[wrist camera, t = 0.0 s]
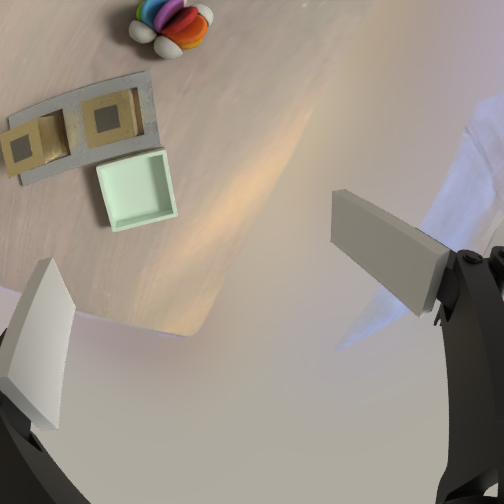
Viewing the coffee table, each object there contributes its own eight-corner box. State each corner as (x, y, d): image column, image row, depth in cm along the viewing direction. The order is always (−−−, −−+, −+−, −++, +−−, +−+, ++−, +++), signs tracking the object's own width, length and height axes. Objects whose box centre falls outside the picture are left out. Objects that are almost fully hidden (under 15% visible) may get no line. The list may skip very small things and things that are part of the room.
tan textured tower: (95, 103, 30) (79, 102, 22) (132, 93, 31) (128, 88, 23) (101, 139, 32) (88, 149, 25) (138, 130, 33) (135, 136, 26)
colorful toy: (177, 69, 31) (183, 61, 25) (119, 33, 26) (113, 17, 20) (218, 24, 30) (234, 8, 24) (163, -12, 25) (167, -35, 19)
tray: (98, 163, 33) (95, 167, 31) (164, 147, 36) (165, 149, 34) (114, 225, 38) (113, 232, 36) (176, 210, 40) (178, 216, 38)
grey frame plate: (10, 116, 25) (8, 117, 25) (149, 71, 30) (150, 70, 29) (25, 185, 30) (23, 186, 30) (160, 144, 35) (160, 145, 34)
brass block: (28, 127, 27) (-2, 134, 20) (60, 114, 28) (36, 118, 21) (35, 162, 30) (8, 178, 22) (66, 150, 31) (45, 163, 23)
